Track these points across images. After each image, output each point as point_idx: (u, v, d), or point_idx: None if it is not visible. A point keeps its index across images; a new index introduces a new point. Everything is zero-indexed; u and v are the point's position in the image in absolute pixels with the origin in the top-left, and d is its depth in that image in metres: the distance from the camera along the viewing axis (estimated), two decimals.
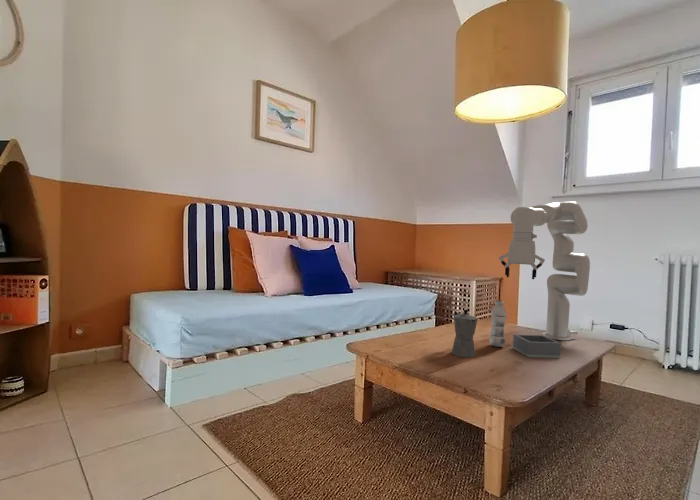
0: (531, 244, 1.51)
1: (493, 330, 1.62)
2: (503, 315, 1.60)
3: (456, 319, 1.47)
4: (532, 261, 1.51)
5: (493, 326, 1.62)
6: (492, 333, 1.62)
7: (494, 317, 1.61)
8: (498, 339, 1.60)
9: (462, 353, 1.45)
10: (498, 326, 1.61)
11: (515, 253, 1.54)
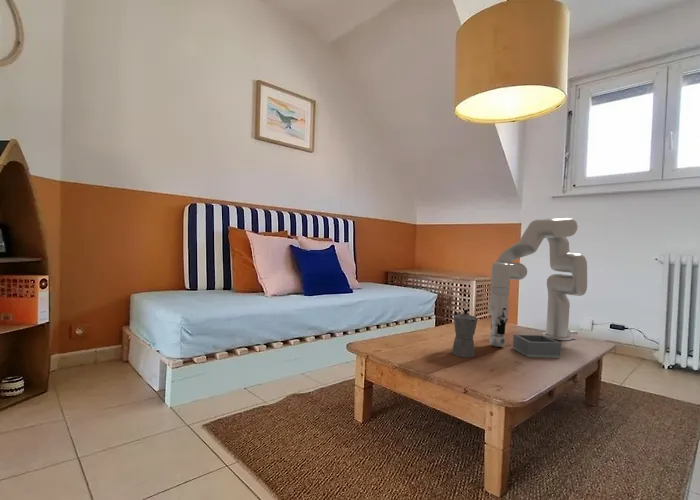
0: None
1: (493, 330, 1.62)
2: None
3: (456, 319, 1.47)
4: None
5: (493, 326, 1.62)
6: (492, 333, 1.62)
7: (494, 317, 1.61)
8: (498, 339, 1.60)
9: (462, 353, 1.45)
10: None
11: None
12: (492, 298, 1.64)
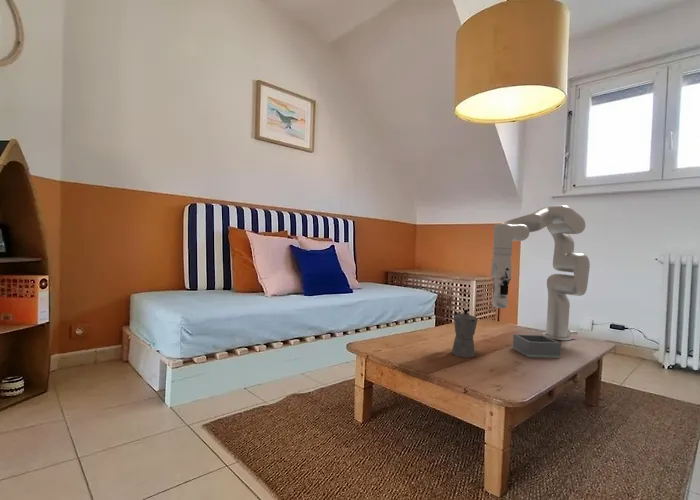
0: None
1: (496, 291, 1.62)
2: None
3: (456, 319, 1.47)
4: None
5: (496, 287, 1.62)
6: (495, 294, 1.62)
7: (497, 278, 1.61)
8: (501, 299, 1.60)
9: (462, 353, 1.45)
10: None
11: None
12: (495, 260, 1.63)
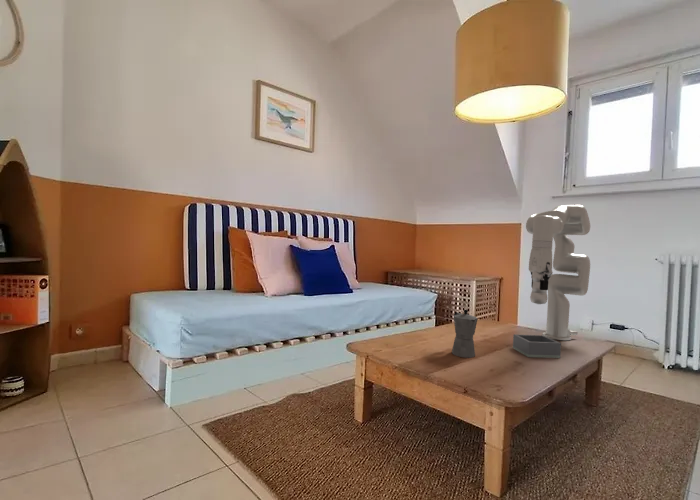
0: None
1: (535, 286, 1.54)
2: None
3: (456, 319, 1.47)
4: None
5: (535, 282, 1.54)
6: (534, 290, 1.55)
7: (536, 273, 1.54)
8: (540, 295, 1.53)
9: (462, 353, 1.45)
10: None
11: None
12: (534, 253, 1.56)
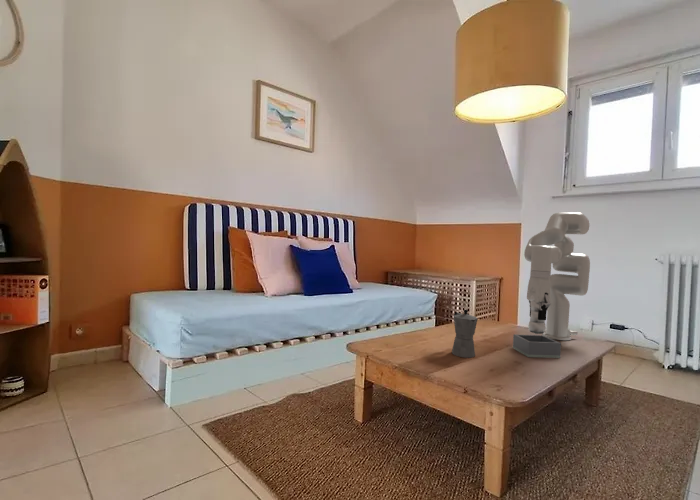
0: None
1: (533, 316, 1.54)
2: None
3: (456, 319, 1.47)
4: None
5: (533, 312, 1.55)
6: (532, 319, 1.55)
7: (534, 303, 1.54)
8: (538, 325, 1.53)
9: (462, 353, 1.45)
10: None
11: None
12: (532, 283, 1.56)
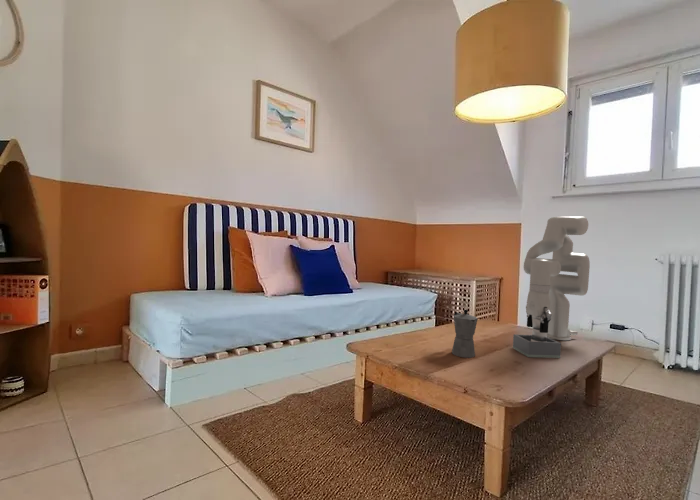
0: None
1: (535, 334, 1.54)
2: None
3: (456, 319, 1.47)
4: None
5: (535, 330, 1.54)
6: (534, 337, 1.54)
7: (536, 321, 1.53)
8: None
9: (462, 353, 1.45)
10: None
11: None
12: (531, 296, 1.56)
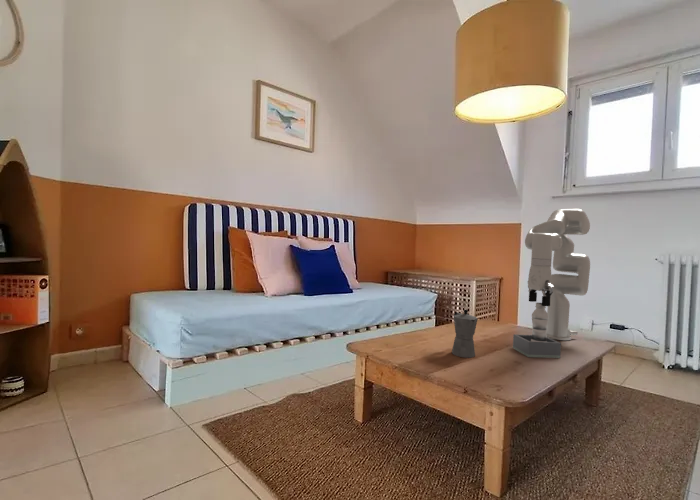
0: None
1: (535, 334, 1.54)
2: (546, 318, 1.52)
3: (456, 319, 1.47)
4: None
5: (535, 330, 1.54)
6: (534, 337, 1.54)
7: (536, 320, 1.53)
8: None
9: (462, 353, 1.45)
10: (540, 329, 1.52)
11: None
12: (533, 271, 1.56)
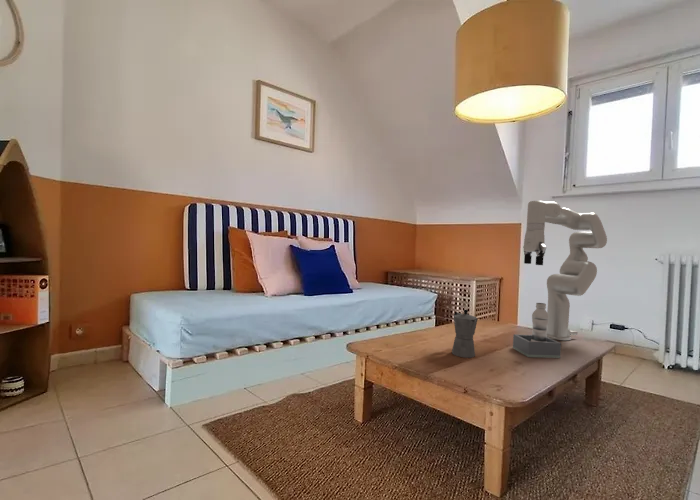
0: None
1: (535, 334, 1.53)
2: (546, 318, 1.52)
3: (456, 319, 1.47)
4: None
5: (535, 330, 1.54)
6: (534, 337, 1.54)
7: (536, 321, 1.53)
8: None
9: (462, 353, 1.45)
10: (540, 330, 1.52)
11: None
12: (528, 235, 1.74)
